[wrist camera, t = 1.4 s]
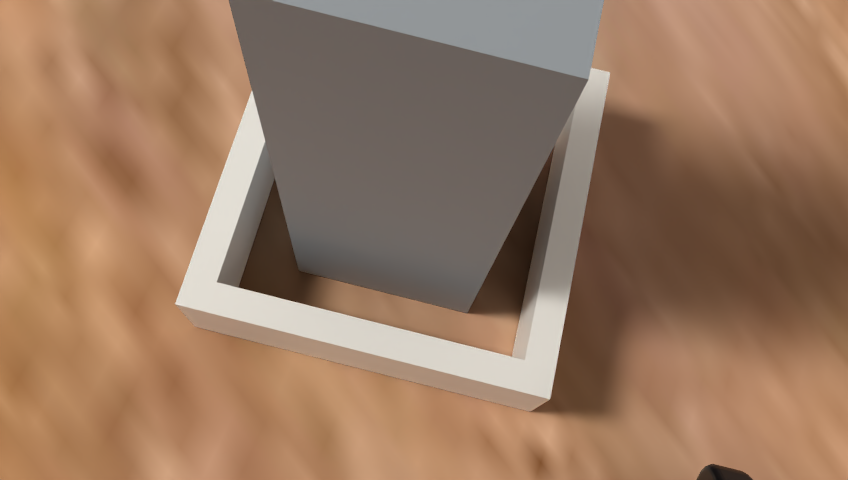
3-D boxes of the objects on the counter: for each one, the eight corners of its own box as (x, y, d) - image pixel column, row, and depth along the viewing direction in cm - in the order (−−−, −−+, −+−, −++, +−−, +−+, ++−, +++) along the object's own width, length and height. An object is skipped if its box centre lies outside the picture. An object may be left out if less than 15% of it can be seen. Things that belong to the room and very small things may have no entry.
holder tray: (530, 411, 22) (550, 399, 20) (195, 326, 22) (175, 304, 20) (587, 114, 25) (610, 72, 23) (294, 40, 25) (287, -9, 23)
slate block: (467, 313, 23) (588, 79, 11) (299, 270, 23) (226, -11, 11) (502, 160, 25) (641, -195, 12) (345, 120, 25) (327, -272, 12)
